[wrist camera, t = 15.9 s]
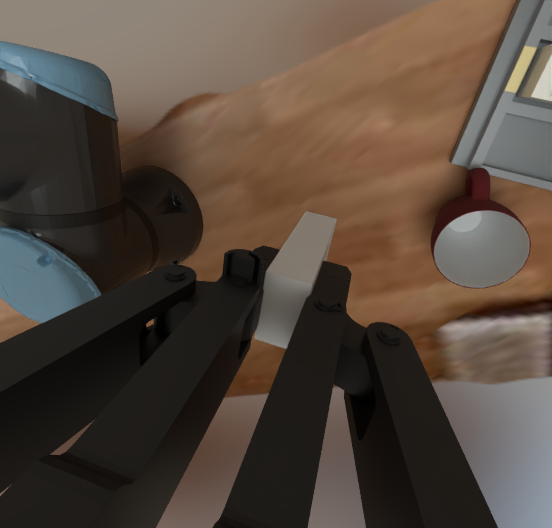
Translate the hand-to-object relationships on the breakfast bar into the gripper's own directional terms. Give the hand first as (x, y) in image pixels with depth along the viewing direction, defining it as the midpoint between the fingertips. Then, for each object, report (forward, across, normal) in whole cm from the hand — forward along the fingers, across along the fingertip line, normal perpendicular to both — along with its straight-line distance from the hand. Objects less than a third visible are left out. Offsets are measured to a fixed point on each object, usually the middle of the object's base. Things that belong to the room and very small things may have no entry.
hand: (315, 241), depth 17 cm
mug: (+29, +13, -3) cm, 32 cm away
